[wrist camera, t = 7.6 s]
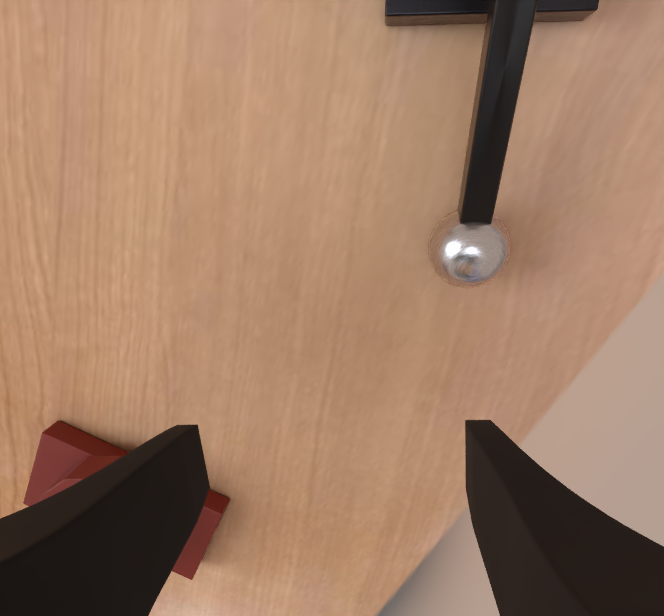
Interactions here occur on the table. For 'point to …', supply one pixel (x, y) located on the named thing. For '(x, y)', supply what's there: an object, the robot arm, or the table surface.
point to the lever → (486, 154)
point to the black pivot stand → (478, 11)
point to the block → (89, 457)
